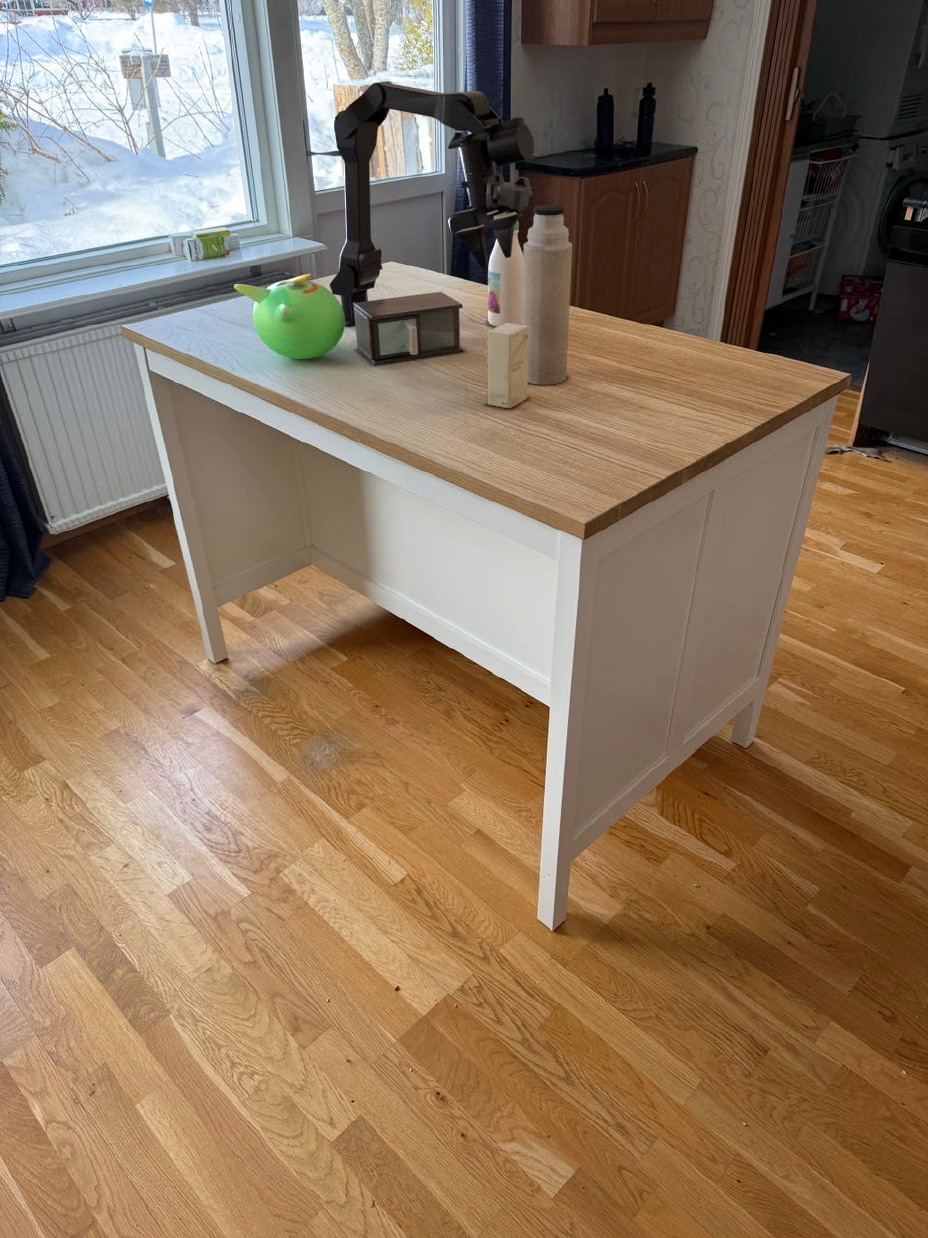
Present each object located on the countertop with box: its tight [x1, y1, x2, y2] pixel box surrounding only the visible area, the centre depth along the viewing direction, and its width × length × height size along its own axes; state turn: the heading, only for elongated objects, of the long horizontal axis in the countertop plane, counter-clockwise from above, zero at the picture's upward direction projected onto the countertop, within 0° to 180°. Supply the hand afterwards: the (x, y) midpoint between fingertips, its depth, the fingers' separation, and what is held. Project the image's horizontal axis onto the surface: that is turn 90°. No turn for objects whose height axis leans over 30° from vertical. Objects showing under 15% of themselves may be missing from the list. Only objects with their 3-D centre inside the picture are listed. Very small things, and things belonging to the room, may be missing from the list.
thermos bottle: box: [521, 204, 573, 386], centre depth 152 cm, size 8×8×28 cm
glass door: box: [373, 314, 422, 359], centre depth 164 cm, size 6×9×7 cm, turn 113°
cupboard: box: [353, 291, 464, 366], centre depth 171 cm, size 11×18×9 cm, turn 113°
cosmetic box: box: [487, 323, 528, 409], centre depth 146 cm, size 6×4×12 cm
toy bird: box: [233, 273, 346, 360], centre depth 168 cm, size 18×17×15 cm
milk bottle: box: [487, 220, 524, 327], centre depth 183 cm, size 8×8×20 cm
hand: (496, 262), depth 168 cm, fingers open, 9 cm apart
